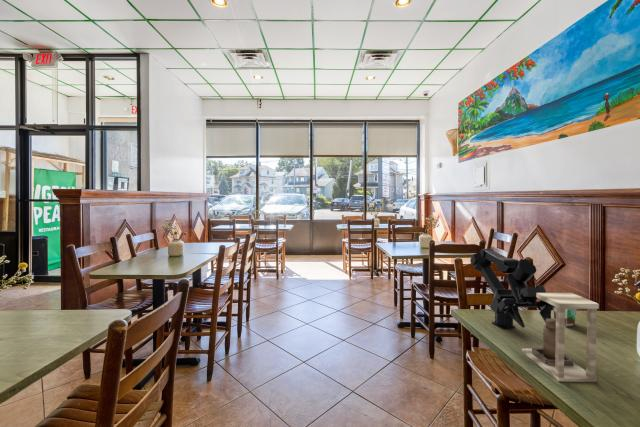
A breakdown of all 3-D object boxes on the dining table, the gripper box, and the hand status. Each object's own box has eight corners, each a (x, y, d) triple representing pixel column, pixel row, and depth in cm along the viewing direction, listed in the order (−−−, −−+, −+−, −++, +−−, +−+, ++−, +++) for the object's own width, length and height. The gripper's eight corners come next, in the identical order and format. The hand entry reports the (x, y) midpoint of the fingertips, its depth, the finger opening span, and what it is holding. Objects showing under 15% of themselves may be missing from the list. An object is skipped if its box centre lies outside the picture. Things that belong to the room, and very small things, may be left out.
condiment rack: (521, 351, 109) (522, 286, 108) (553, 351, 109) (554, 286, 107) (558, 381, 91) (559, 303, 90) (596, 381, 91) (598, 303, 90)
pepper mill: (541, 354, 105) (542, 317, 104) (557, 356, 103) (558, 318, 102) (545, 360, 101) (545, 322, 100) (561, 363, 99) (562, 324, 98)
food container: (585, 329, 125) (585, 305, 125) (568, 328, 127) (568, 305, 126) (567, 318, 137) (567, 296, 137) (552, 317, 139) (552, 295, 138)
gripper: (502, 277, 114) (519, 318, 103) (554, 276, 113) (577, 318, 102) (491, 291, 122) (506, 330, 112) (540, 291, 121) (559, 330, 111)
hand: (537, 327), depth 109 cm, fingers open, 9 cm apart
